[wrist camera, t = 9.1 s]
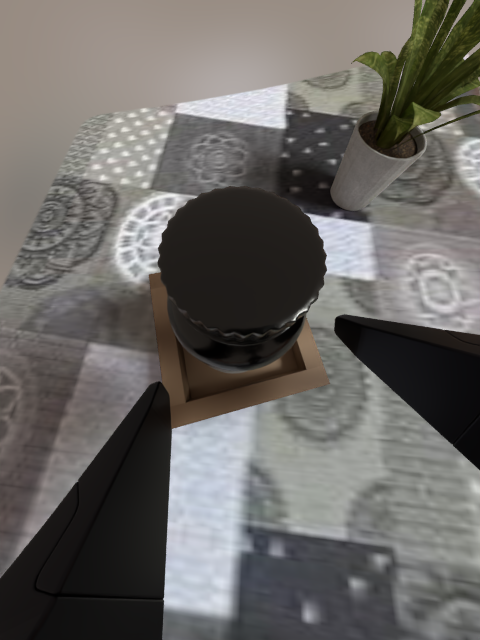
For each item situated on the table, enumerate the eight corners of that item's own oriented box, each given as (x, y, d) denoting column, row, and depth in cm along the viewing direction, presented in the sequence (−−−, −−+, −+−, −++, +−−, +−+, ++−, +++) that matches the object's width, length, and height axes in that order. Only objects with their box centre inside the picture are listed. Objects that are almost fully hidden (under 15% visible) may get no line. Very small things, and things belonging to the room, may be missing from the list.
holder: (315, 381, 16) (329, 383, 14) (178, 419, 15) (168, 429, 12) (276, 263, 19) (282, 249, 17) (159, 286, 18) (148, 274, 16)
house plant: (400, 264, 20) (1005, -98, 4) (288, 230, 21) (471, -205, 5) (407, 180, 24) (747, -179, 8) (312, 153, 24) (459, -235, 9)
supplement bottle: (183, 327, 16) (61, 230, 5) (237, 284, 18) (250, 128, 6) (231, 384, 15) (232, 451, 3) (284, 334, 16) (413, 260, 5)
